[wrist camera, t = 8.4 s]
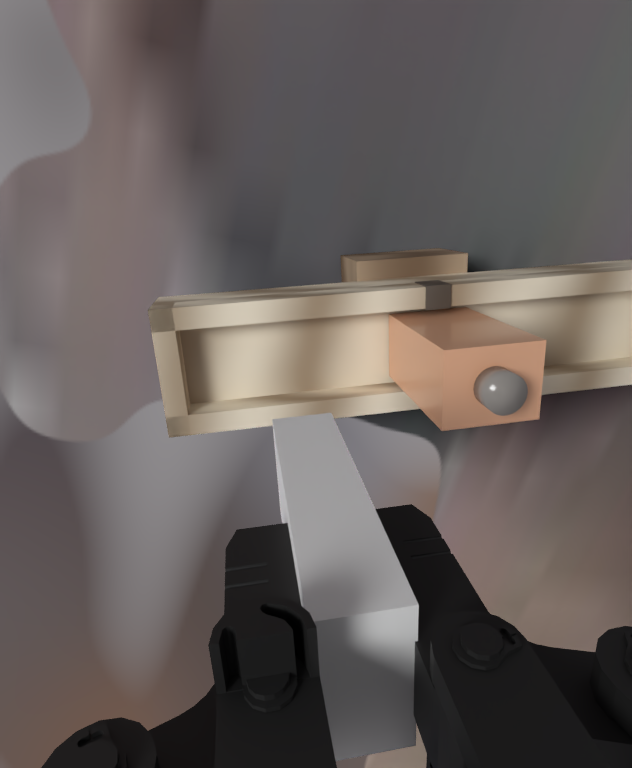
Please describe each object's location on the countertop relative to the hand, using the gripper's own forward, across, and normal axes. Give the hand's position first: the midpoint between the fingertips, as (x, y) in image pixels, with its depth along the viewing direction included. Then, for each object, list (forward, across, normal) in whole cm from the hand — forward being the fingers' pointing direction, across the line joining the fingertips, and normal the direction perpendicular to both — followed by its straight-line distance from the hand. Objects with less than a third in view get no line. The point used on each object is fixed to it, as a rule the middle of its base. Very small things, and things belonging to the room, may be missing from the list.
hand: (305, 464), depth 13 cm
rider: (+12, +8, -1) cm, 15 cm away
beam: (+18, +8, -1) cm, 20 cm away
